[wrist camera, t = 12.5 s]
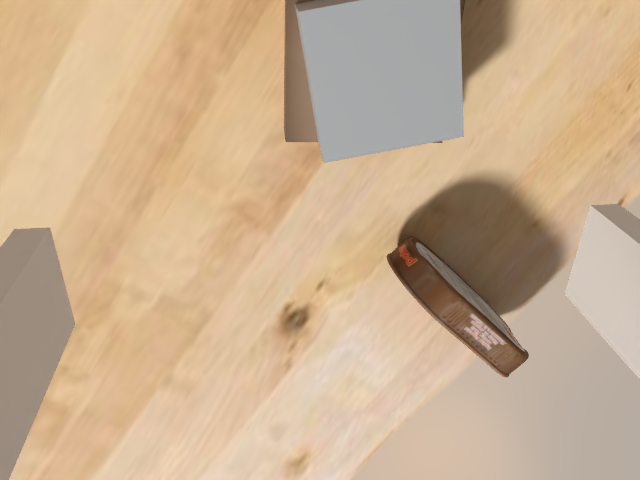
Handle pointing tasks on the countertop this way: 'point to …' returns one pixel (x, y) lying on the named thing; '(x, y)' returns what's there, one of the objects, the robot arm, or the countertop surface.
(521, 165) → the countertop surface
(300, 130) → the tower base
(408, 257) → the tin
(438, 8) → the tower top
